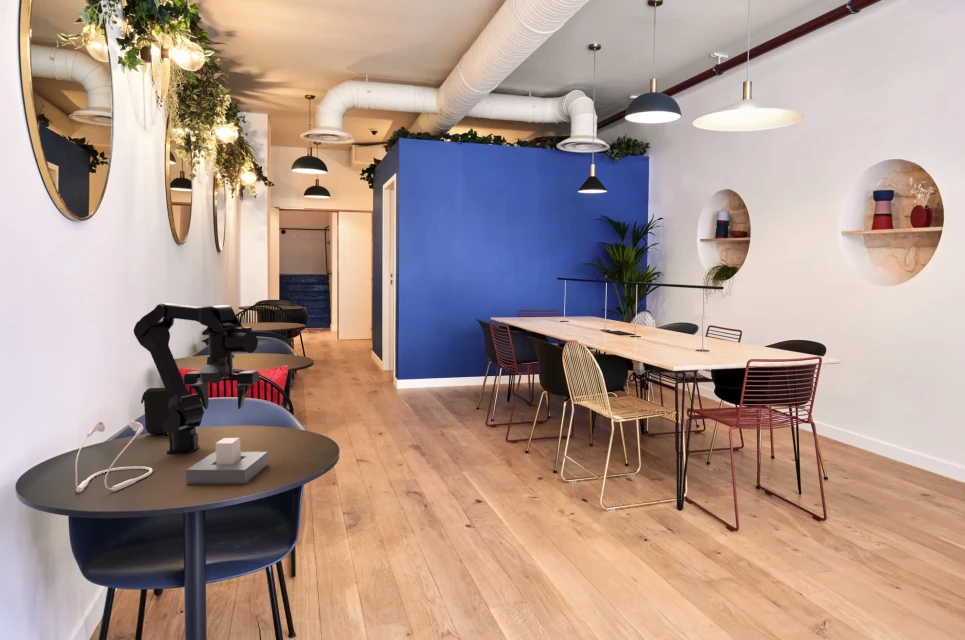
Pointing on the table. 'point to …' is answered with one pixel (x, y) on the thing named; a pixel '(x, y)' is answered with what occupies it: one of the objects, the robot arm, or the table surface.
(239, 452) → the plug
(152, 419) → the carrying case or bag
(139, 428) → the earphone
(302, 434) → the table surface
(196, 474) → the socket block
